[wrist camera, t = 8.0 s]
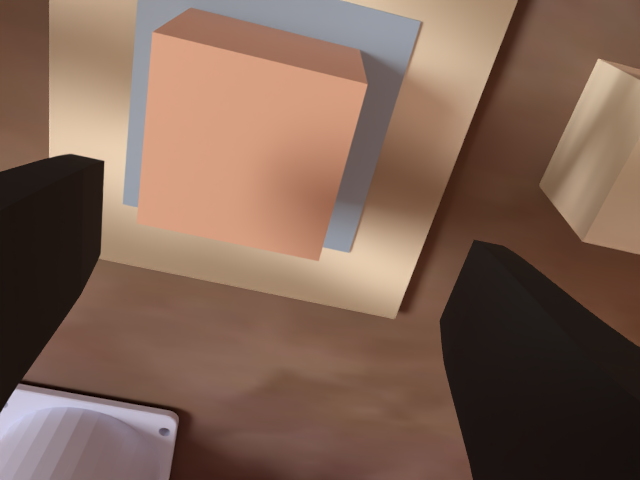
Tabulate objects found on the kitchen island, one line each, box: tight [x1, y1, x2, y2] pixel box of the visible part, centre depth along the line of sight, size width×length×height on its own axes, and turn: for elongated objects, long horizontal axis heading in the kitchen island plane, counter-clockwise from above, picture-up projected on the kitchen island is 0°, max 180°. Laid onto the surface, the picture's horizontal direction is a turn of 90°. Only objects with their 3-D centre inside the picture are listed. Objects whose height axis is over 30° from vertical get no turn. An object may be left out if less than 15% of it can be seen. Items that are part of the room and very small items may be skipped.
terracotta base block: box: [137, 8, 368, 261], centre depth 16 cm, size 5×5×4 cm
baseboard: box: [49, 0, 518, 319], centre depth 18 cm, size 13×13×1 cm
